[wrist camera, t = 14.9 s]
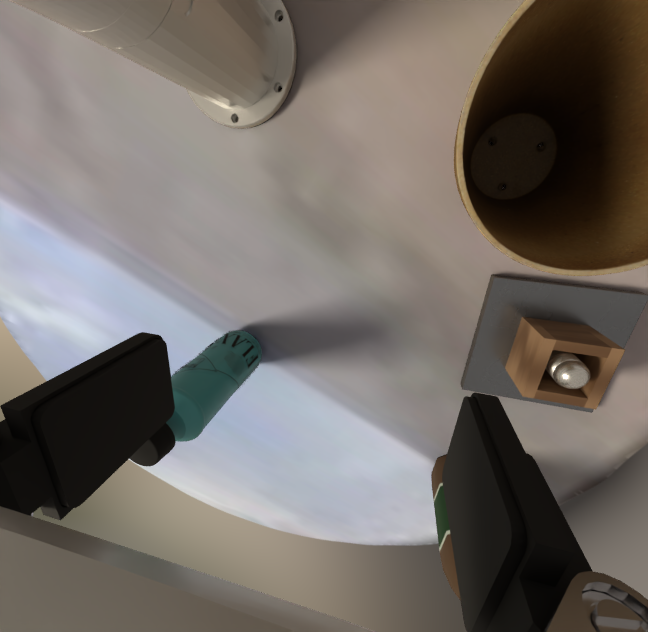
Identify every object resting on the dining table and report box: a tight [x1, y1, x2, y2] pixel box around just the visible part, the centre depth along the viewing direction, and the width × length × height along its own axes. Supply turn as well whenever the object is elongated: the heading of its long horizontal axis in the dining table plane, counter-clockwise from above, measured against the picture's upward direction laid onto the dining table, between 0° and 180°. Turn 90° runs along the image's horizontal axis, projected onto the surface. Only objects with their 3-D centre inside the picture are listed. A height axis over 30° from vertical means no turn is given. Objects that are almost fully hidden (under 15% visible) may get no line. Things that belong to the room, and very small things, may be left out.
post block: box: [461, 275, 648, 413], centre depth 31 cm, size 14×14×8 cm
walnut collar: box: [505, 317, 625, 409], centre depth 31 cm, size 6×6×6 cm
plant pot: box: [454, 0, 648, 276], centre depth 22 cm, size 15×15×16 cm
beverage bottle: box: [130, 330, 262, 466], centre depth 35 cm, size 6×7×20 cm
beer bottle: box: [431, 455, 461, 601], centre depth 32 cm, size 8×8×24 cm
